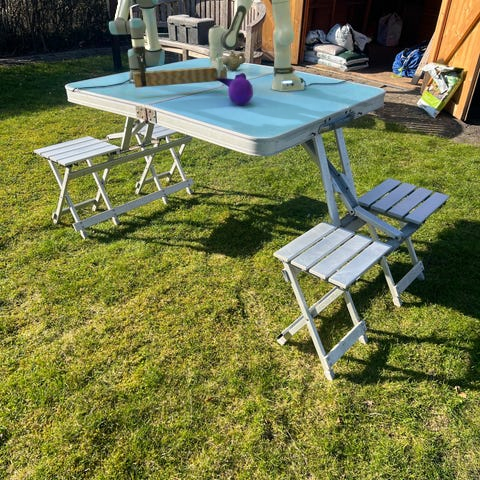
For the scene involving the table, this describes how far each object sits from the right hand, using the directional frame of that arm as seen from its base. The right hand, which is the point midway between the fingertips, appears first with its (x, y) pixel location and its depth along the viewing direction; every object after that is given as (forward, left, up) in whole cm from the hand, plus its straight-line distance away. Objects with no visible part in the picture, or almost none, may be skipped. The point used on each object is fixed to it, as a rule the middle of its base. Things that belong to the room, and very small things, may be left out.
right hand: (217, 75), depth 299 cm
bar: (+24, +5, -3) cm, 25 cm away
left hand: (+48, +10, -2) cm, 49 cm away
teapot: (-17, -77, -10) cm, 80 cm away
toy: (-10, +34, -10) cm, 37 cm away
